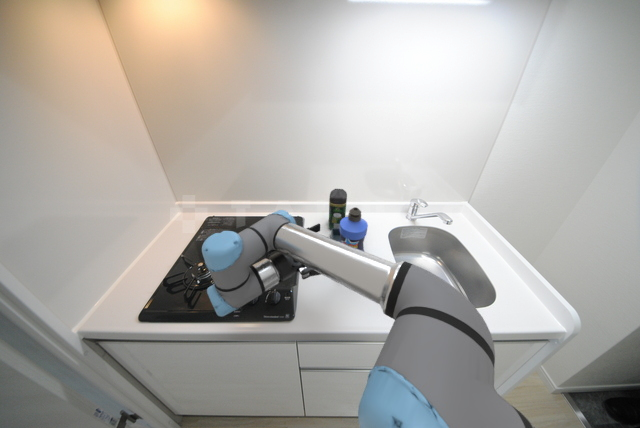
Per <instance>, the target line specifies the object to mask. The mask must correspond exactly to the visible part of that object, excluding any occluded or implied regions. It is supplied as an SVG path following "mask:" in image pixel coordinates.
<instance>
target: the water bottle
mask: <svg viewBox="0 0 640 428" xmlns="http://www.w3.org/2000/svg"><path fill="white" fill-rule="evenodd" d="M368 226H369V224H368V222H367V221H366V219H364V218H362V211H361V209H359V208H358V207H352V208H350V209H349V210H348V216H345V218H343V219H342V220H341V221H340V242H341V243H344V244H346V245H349V246H351V247H354V248H357V249H359V250H362V251H363V248H364V247H365V246H364V241H365V239H366V236H367V233H368V228H369V227H368Z"/></svg>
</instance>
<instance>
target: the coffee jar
mask: <svg viewBox="0 0 640 428" xmlns="http://www.w3.org/2000/svg"><path fill="white" fill-rule="evenodd" d="M347 201H348V193H347V191H346V190H344V189H343V188H334V189H332V190H331V191H330V193H329V199H328V228H329V229H330V230H331V228H340V221H341V220H342V219H343V218H345V217H346V212H347V203H348V202H347Z"/></svg>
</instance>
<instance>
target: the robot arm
mask: <svg viewBox="0 0 640 428" xmlns="http://www.w3.org/2000/svg"><path fill="white" fill-rule="evenodd" d="M320 232H321V223H316V224H314V225H312V226H310V227H303V226H301V225H299V224H297V223H296V220H295V218H294V217H293V215H291V214H289V212H288V211H287V210H284V209H278V210H276V211H274V212H272V213H269V214H267V215H266V216H265V217H263V218H262V219H260V220H258V221H257V222H255V223H253V224H252V225H250V226H249V227H247V228H245V229H243V230H241V231H240V232H236V231H233V230H223V231H221V232H215V233H213V234H211V235H210V236H208V237H207V238H206V239H205V240H204V241H203V244H202V246H201V253H202V258H203V260H204V263H205V267H206V269H207V270H208V272H209V274H210V276H211V278H212V280H213V284H212V285H209V287H207V289H206V294H207V296H208V299H209V301H210V303H211V305H212V307H213V309H214V311H215V313H216V315H217V317H225V316H227V315H229V314H231V313H232V312H234V311H237V310H239V309H240V308H242V307H243V306H245V305H247V304H248V303H249V302H252V301H253V300H255V299H256V298H258V297H259V296H261V295H262V294H264V293H266V292H268V291H269V290H271V289H273V288H274V287H276V286H277V285H279V283H283V282H284V281H286V280H288V279H289V278H292V277H293V275H294V274H295V273H299V274H300V275H301V279H302V280H306V279H307V280H308V278H310V277H311V278H312V277H314V276H320V275H322V276H324V277H326V278H328V279H330V280H332V281H334V282H336V283H337V284H339V285H341V286H343V287H345V288H347V289H349V290H350V291H353V292H355V293H357V294H359V295H360V296H363V297H364V298H366V299H368V300H370V301H372V302H373V303H376V304H377V305H379V306H380V308H381V311H382V313H383V314H384V315H385V316H387V317H389V318H391V319H393V320H394V321H393V323H392V326H391V328H390V330H389V332H388V335H387V337H386V339H385V341H384V344H383V345H382V348H381V350H380V352H379V354H378V357H377V359H376V361H375V363H374V365H373V367H372V369H370V371H369V373H368V375H367V381H366V385H365V387H364V390H363V392H362V396H361V398H360V401H359V404H358V410H357V417H358V418H357V419H358V425H359V428H536V427H535V426H534V424H532V422H531V421H530V420H529V418H527V417H526V416H525V415H524V414H523V413H522V412H521V411H520V410H519V409H517V408H516V407H515V406H513V404H511V403H510V402H509V401H508V400H506V399H505V398H504V397H503V396H502V395H500V394H499V392H498V391H497V390H496V388H495V365H496V351H495V343H494V340H493V335H492V334H491V333H492V332H491V331H490V329H489V326H488V324H487V322H486V321H485V319H484V317H483V316H482V315H481V313H480V312H479V311H478V309H477V308H476V307H475V305H474V304H473V303H472V302H471V301H470V300H469V299H468V298H467V297H466V296H465V295H463V293H462V292H460V291H459V290H458V289H457V288H455V287H454V286H453V285H452V284H450V283H449V282H447V281H446V280H445V279H443V278H441V277H439V276H438V275H436V274H435V273H433V272H431V271H430V270H428V269H426V268H424V267H421V266H418V265H416V264H413V263H411V262H408V261H405V260H401V261H399V262H396V263H394V262H392V261H389V260H387V259H384V258H382V257H379V256H377V255H375V254H372V253H369V252H367V251H365V250H364V251H362V250H359V249H357V248H354V247H351V246H349V245H346V244H344V243H341V242H339V241H336V240H334V239H331V237H329V236H326V235H323V234H321V233H320ZM272 250H274V251H277V252H274V253H273V254H271V255H269V256H268V257H267V258H263V259H261V258H262V257H263V256H265V255H266V254H268V253H269V252H271V251H272ZM260 259H261V260H260Z"/></svg>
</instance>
